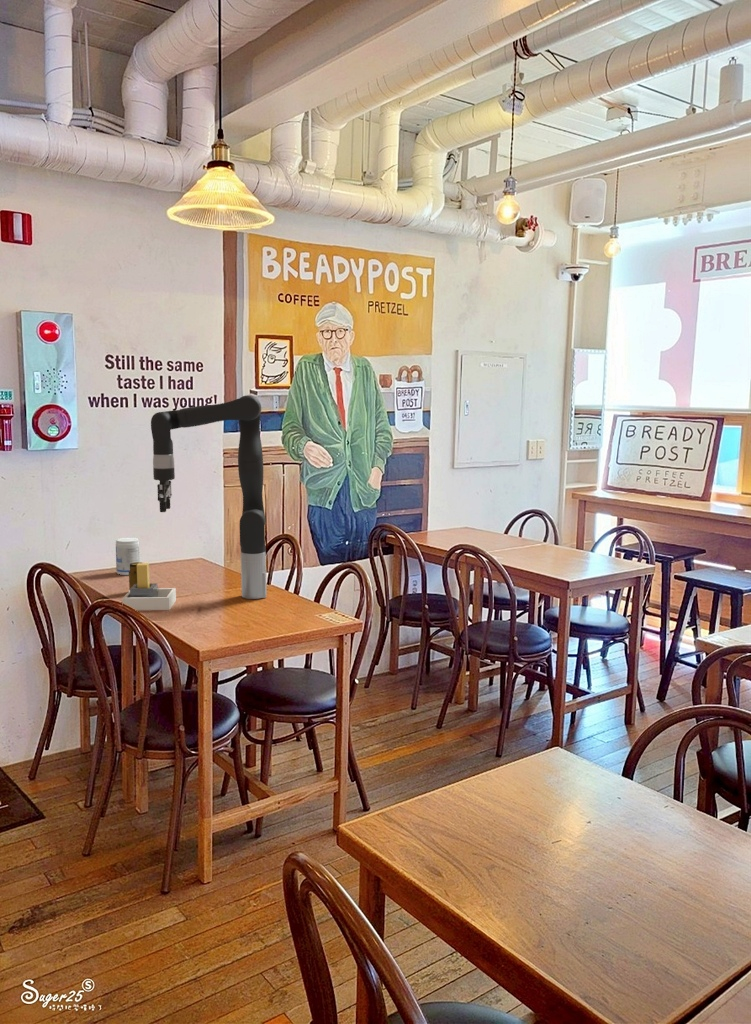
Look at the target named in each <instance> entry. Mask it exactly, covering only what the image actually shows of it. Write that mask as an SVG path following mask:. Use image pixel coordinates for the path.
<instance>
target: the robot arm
mask: <svg viewBox="0 0 751 1024" xmlns="http://www.w3.org/2000/svg"><path fill="white" fill-rule="evenodd" d="M261 414H262V404H261V402H260V400H259V399H258V398H257V397H255V396H254V395H251V394H250V395H249V394H248V395H247V394H246V395H242V396H241V397H239V398H236V399H234V400H230V401H227V402H222V403H217V404H207V405H206V404H205V405H198V406H191V407H190V406H189V407H183V408H180V409H177V410H175V409H174V410H168V411H165V410H164V411H158V412H155V413H154V414H153V415H152V416H151V419H150V429H151V436H152V444H153V446H152V448H153V450H152V452H153V456H152V457H153V458H152V468H153V469H152V470H153V480H155V481H158V482H159V484H157V485H156V486H157V501H158V503H159V512H160V513H166V512H167V510H169V509H171V498H172V496H173V494H172V481H173V480H175V477H176V476H175V475H176V474H175V456H174V442H173V440H172V438H171V434H172V433H171V430H176V429H181V428H183V429H184V428H193V427H198V426H203V425H205V426H206V425H208V424H213V423H219V422H225V421H238V422H239V423H238V425H239V441H238V449H237V450H238V453H237V468H238V469H237V470H238V478H239V484H240V487H241V492H242V512H241V513H242V514H241V516H240V519H239V546H240V573H241V574H240V576H241V577H240V579H241V598H243V599H246V600H255V599H256V600H258V599H265V598H267V592H268V591H267V590H268V589H267V584H268V583H267V566H266V565H267V554H266V553H267V552H266V551H267V548H266V547H267V546H266V534H265V533H266V514H265V508H264V501H263V490H264V488H263V487H264V459H263V458H264V455H263V446H262V445H263V444H262V439H261V416H262V415H261Z"/></svg>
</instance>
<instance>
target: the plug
mask: <svg viewBox="0 0 751 1024" xmlns="http://www.w3.org/2000/svg"><path fill="white" fill-rule="evenodd" d="M150 583H151V582H150V563H149V562H141V563H138V564H137V588H150Z"/></svg>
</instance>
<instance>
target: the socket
mask: <svg viewBox="0 0 751 1024" xmlns="http://www.w3.org/2000/svg"><path fill="white" fill-rule="evenodd" d="M130 597H158V583H155V582H152V583H151V582H150V588H137V584H134V585H133V586H132V587H131V588H130Z"/></svg>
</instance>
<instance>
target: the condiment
mask: <svg viewBox="0 0 751 1024" xmlns="http://www.w3.org/2000/svg"><path fill="white" fill-rule="evenodd" d="M138 563H142V562H141V561H140V562H135V563H131V564H130V571H129V575H128V582H129V583H128V588H129V590H128V592H129V591H130V588H131V587H132V586H133V585H134V584H137V564H138Z"/></svg>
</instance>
